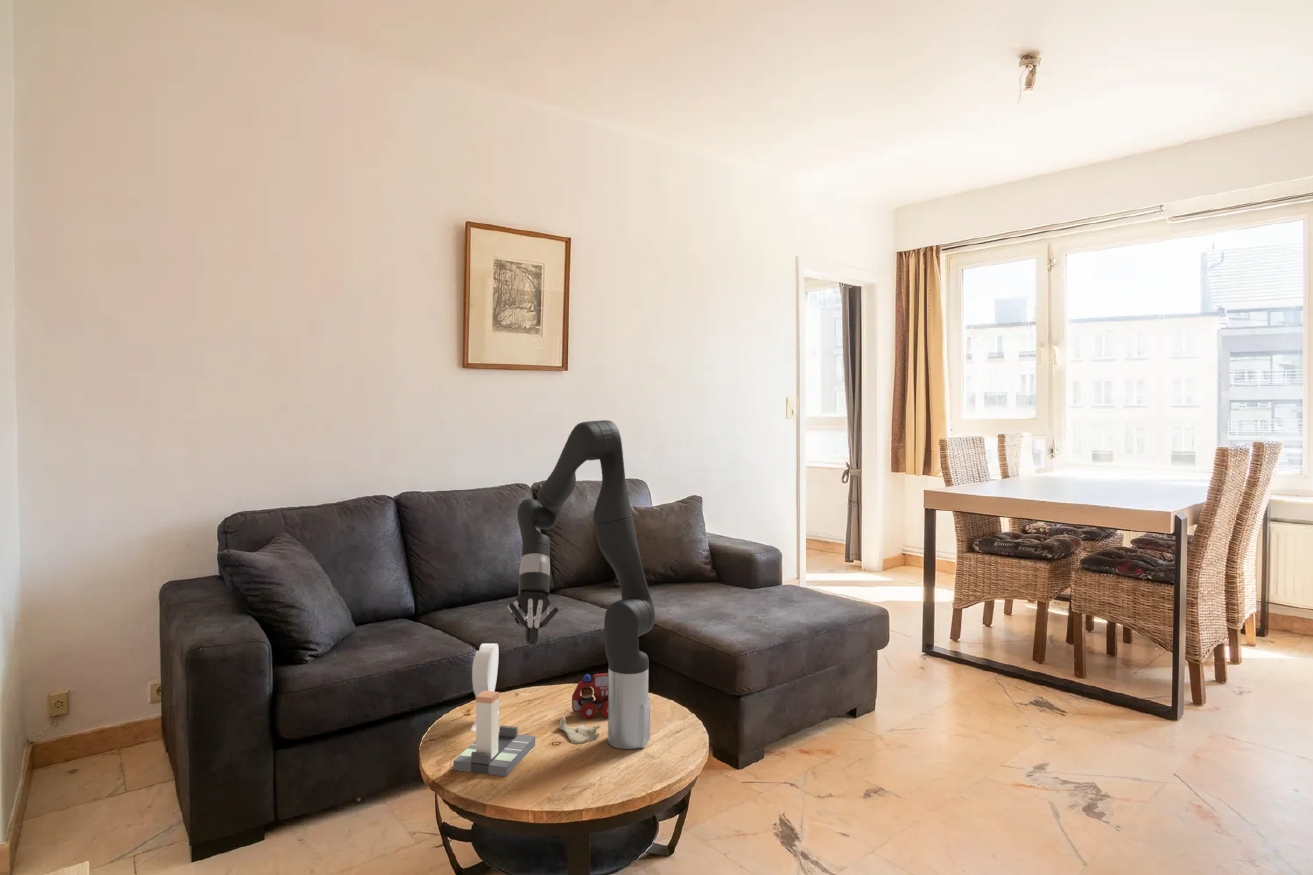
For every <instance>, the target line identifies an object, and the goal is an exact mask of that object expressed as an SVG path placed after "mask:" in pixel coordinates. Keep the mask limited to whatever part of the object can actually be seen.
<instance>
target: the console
mask: <svg viewBox="0 0 1313 875" xmlns="http://www.w3.org/2000/svg"><path fill="white" fill-rule="evenodd" d="M518 728H519V727H518V726H514V725H513V726H512V725H505V724H504V725H500V726H498V753H497V754H496V755H495V756H494V757H493V758H492V759H491V754H490V753H482V752H476V740H475V741H473V743H471V744H470V745H469V746H468V747H466V749H465V750H464V751H463V752H461V753H460V754H459V755H458V756H457V757H456V758H455V759H453V766H452V767H453V769H454V770H453V771H457V770H458V772H465V771H466V773H467V772H468V773H475V774H481V773H485V774H484V775H489V774H491V775H490V776H499V777H507V776H508V775H510V773H512V771H513V770H514V769H515V768H516V767H517V765H518V764H519V763H520V762H521V761H522V760H524V758H525V757H526V756H527V755H528V753H530V752H531V751H532V749H533V748H534V747H535V746H536V735H528V734H519V733H518Z"/></svg>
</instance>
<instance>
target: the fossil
mask: <svg viewBox="0 0 1313 875" xmlns="http://www.w3.org/2000/svg"><path fill="white" fill-rule="evenodd" d="M558 729H559V730H560V731H561V730H562V731H563V732H565V734H566V735H567V738H568V740H569V741H570V742H571V744H574V745H580V744H582V745H583V744H585V743H589V742H592V741H594V740H595V739H597V738H599V736H600V733H597V730H598V729H601V726H599V725H595V726H592V727H587V726H586V725H585V724H580V725H578V726H575V727H574V726H569V725H567V721H566V717H565V716H561V719H560V720H559V724H558ZM594 738H595V739H594ZM593 739H594V740H593ZM591 740H592V741H591ZM588 741H589V742H588Z"/></svg>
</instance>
